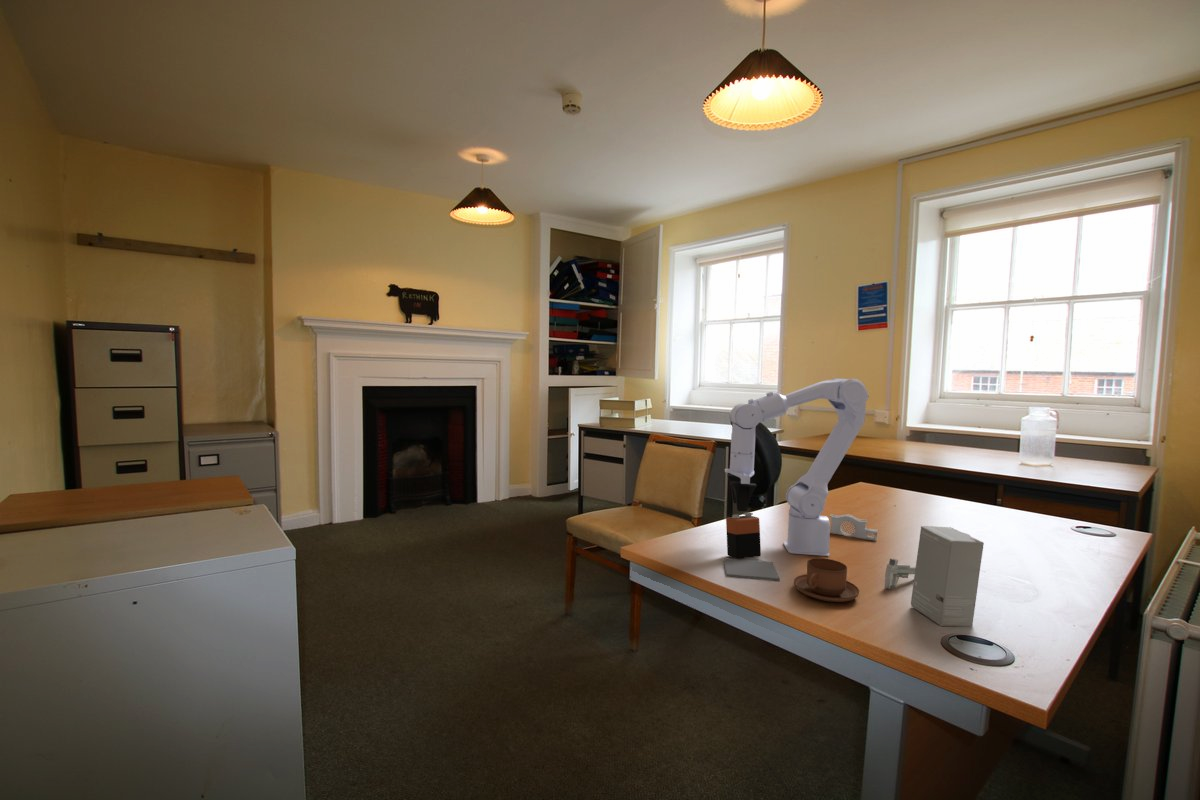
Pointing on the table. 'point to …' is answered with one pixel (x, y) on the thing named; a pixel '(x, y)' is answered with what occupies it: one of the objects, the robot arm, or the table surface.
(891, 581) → the caliper
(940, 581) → the skincare box
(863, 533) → the garden wall model
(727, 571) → the mat
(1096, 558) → the table surface
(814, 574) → the cup and saucer
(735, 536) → the battery
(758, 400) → the robot arm
